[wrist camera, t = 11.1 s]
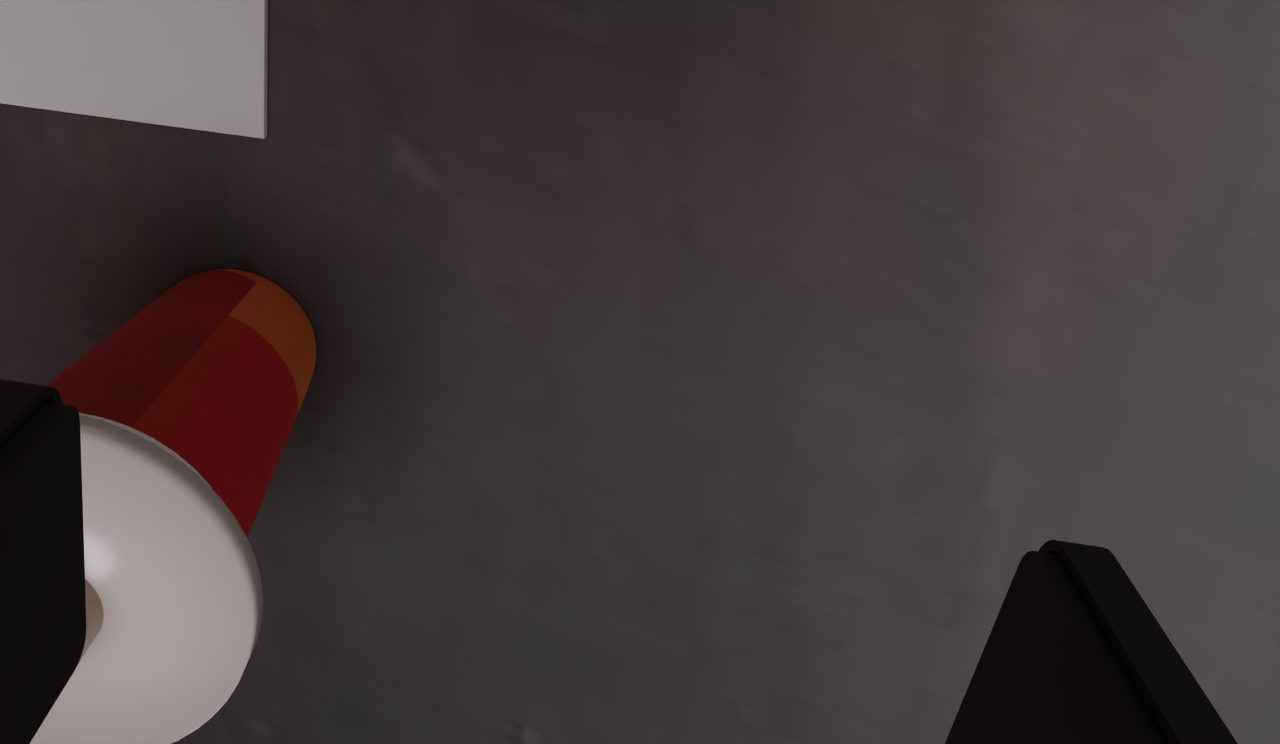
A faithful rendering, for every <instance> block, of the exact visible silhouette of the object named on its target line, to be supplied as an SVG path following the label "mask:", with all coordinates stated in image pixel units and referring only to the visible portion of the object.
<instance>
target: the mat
mask: <svg viewBox="0 0 1280 744" xmlns="http://www.w3.org/2000/svg"><path fill="white" fill-rule="evenodd" d="M267 78H268V0H0V103H3V104H10V105H17V106H25V107H32V108H40V109H47V110H54V111H62V112H69V113H77V114H84V115H92V116H99V117H106V118H114V119H121V120H129V121H136V122H143V123H151V124H158V125H166V126H173V127H181V128H188V129H195V130H203V131H210V132H218V133H225V134H233V135H240V136H247V137H255V138H262V139H264V138H265V137H267Z"/></svg>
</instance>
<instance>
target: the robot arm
mask: <svg viewBox="0 0 1280 744" xmlns="http://www.w3.org/2000/svg"><path fill="white" fill-rule="evenodd" d="M85 639H86V596H85V564H84V532H83V500H82V468H81V435H80V418H79V413H78V410H77V408H76V407H74V406H72V405H65V404H62V399H61V396H60V394H59V392H58V391H57V390H56V389H55V388H54V387H49V386H42V385H36V384H29V383H23V382H16V381H10V380H3V379H0V744H30V742H31V741H32V739H33V737H34V736H35V734H36V733H37V731H38V729H39V728H40V726H41V724H42V723H43V721H44V720H45V718H46V716H47V715H48V713H49V711H50V710H51V708H52V707H53V705H54V703H55V702H56V700H57V699H58V697H59V695H60V694H61V692H62V690H63V689H64V687H65V686H66V684H67V682H68V681H69V679H70V678H71V676H72V674H73V673H74V671H75V669H76V667H77V665H78V663H79V661H80V658H81V655H82V652H83V648H84V645H85ZM945 744H1237V742H1236V741H1235V739H1234V738H1233V736H1232V734H1231V733H1230V731H1229V730H1228V728H1227V727H1226V725H1225V724H1224V722H1223V721H1222V719H1221V718H1220V716H1219V715H1218V713H1217V712H1216V710H1215V709H1214V707H1213V706H1212V704H1211V703H1210V701H1209V699H1208V698H1207V696H1206V695H1205V693H1204V692H1203V690H1202V689H1201V687H1200V686H1199V684H1198V683H1197V681H1196V680H1195V678H1194V677H1193V675H1192V674H1191V672H1190V671H1189V669H1188V667H1187V666H1186V664H1185V663H1184V661H1183V660H1182V658H1181V657H1180V655H1179V654H1178V652H1177V651H1176V649H1175V648H1174V646H1173V645H1172V643H1171V642H1170V640H1169V639H1168V637H1167V636H1166V634H1165V632H1164V631H1163V629H1162V628H1161V626H1160V625H1159V623H1158V622H1157V620H1156V619H1155V617H1154V616H1153V614H1152V613H1151V611H1150V610H1149V608H1148V607H1147V605H1146V604H1145V602H1144V600H1143V599H1142V597H1141V596H1140V594H1139V593H1138V591H1137V590H1136V588H1135V587H1134V585H1133V584H1132V582H1131V581H1130V579H1129V578H1128V576H1127V575H1126V573H1125V572H1124V570H1123V569H1122V567H1121V565H1120V564H1119V562H1118V561H1117V559H1116V558H1115V556H1114V555H1113V554H1112V553H1111V552H1110V551H1109V550H1108V549H1106V548H1102V547H1096V546H1090V545H1083V544H1077V543H1070V542H1064V541H1057V540H1050V541H1047V542H1046V543H1045V544H1044V545H1043V546H1042V547H1041V548H1040V549H1039V551H1038V552H1036V551H1030V552H1027V553H1026V554H1025V555H1024V556H1023V558H1022V560H1021V561H1020V563H1019V566H1018V568H1017V571H1016V573H1015V575H1014V578H1013V580H1012V583H1011V585H1010V587H1009V590H1008V592H1007V595H1006V597H1005V600H1004V602H1003V604H1002V607H1001V609H1000V612H999V614H998V617H997V619H996V621H995V624H994V626H993V629H992V631H991V633H990V636H989V638H988V641H987V643H986V646H985V648H984V650H983V653H982V655H981V658H980V660H979V663H978V665H977V667H976V670H975V672H974V675H973V677H972V679H971V682H970V684H969V687H968V689H967V692H966V694H965V696H964V699H963V701H962V704H961V706H960V708H959V711H958V713H957V716H956V718H955V721H954V723H953V725H952V728H951V730H950V733H949V735H948V738H947V740H946V743H945Z"/></svg>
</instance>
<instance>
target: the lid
mask: <svg viewBox="0 0 1280 744" xmlns="http://www.w3.org/2000/svg"><path fill="white" fill-rule="evenodd" d="M79 418H80V435H81V468H82V500H83V532H84V564H85V596H86V639H85V645H84V648H83V652H82V655H81V658H80V661H79V663H78V665H77V667H76V669H75V671H74V673H73V674H72V676H71V678H70V679H69V681H68V682H67V684H66V686H65V687H64V689H63V690H62V692H61V694H60V695H59V697H58V699H57V700H56V702H55V703H54V705H53V707H52V708H51V710H50V711H49V713H48V715H47V716H46V718H45V720H44V721H43V723H42V724H41V726H40V728H39V729H38V731H37V733H36V734H35V736H34V737H33V739H32V741H31V742H30V744H171V743H173V742H176V741H178V740H180V739H181V738H183V737H185V736H187V735H188V734H190V733H192V732H193V731H195V730H197V729H198V728H199V727H200V726H202V725H203V724H204V723H205V722H207V721H208V720H209V719H210V718H212V717H213V716H214V715H215V714H216V713H217V711H218V710H219V709H220V708H221V707H222V706H223V705H224V704H225V703H226V702H227V700H228V699H229V697H230V696H231V694H232V693H233V691H234V690H235V688H236V686H237V685H238V683H239V681H240V678H241V676H242V674H243V672H244V669H245V667H246V665H247V663H248V660H249V658H250V656H251V653H252V651H253V649H254V647H255V644H256V642H257V638H258V634H259V630H260V626H261V622H262V609H263V595H262V584H261V578H260V574H259V570H258V566H257V562H256V558H255V556H254V554H253V551H252V549H251V546H250V544H249V541H248V539H247V537H246V535H245V533H244V532H243V530H242V528H241V527H240V525H239V523H238V521H237V520H236V518H235V516H234V515H233V514H232V512H231V511H230V510H229V509H228V507H227V506H226V505H225V503H224V502H223V501H222V499H221V498H220V497H219V496H218V495H217V494H216V493H215V492H214V491H213V489H212V488H211V487H210V486H209V485H208V484H207V483H206V482H205V481H204V480H203V479H202V478H201V477H200V476H198V475H197V474H196V473H195V472H194V471H192V470H191V469H190V468H189V467H187V466H186V465H185V464H184V463H183V462H181V461H180V460H179V459H177V458H176V457H174V456H173V455H171V454H170V453H168V452H167V451H165V450H163V449H162V448H160V447H159V446H157V445H156V444H154V443H152V442H150V441H148V440H146V439H144V438H142V437H140V436H138V435H136V434H134V433H132V432H131V431H128V430H126V429H123V428H120V427H118V426H115V425H113V424H110V423H107V422H105V421H102V420H98V419H95V418H91V417H87V416H84V415H80V414H79Z"/></svg>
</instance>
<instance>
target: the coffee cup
mask: <svg viewBox="0 0 1280 744" xmlns="http://www.w3.org/2000/svg"><path fill="white" fill-rule="evenodd" d="M315 363H316V340H315V335H314V331H313V328H312V325H311V323H310V321H309V319H308V317H307V315H306V313H305V312H304V310H303V309H302V307H301V306H300V305H299V303H298V302H297V301H296V300H295V299H294V298H293V297H292V296H291V295H290V294H289V293H288V292H287V291H286V290H284V289H283V288H282V287H280V286H279V285H277V284H276V283H274V282H273V281H271V280H269V279H267V278H265V277H263V276H260V275H258V274H255V273H252V272H248V271H244V270H239V269H226V268H224V269H212V270H207V271H203V272H200V273H197V274H194V275H192V276H190V277H188V278H186V279H184V280H182V281H181V282H179V283H178V284H176V285H174V286H173V287H172V288H170V289H169V290H167V291H166V292H165V293H163V294H162V295H161V296H159V297H158V298H157V299H155V300H154V301H153V302H151V303H150V304H149V305H147V306H146V307H145V308H144V309H142V310H141V311H140V312H139V313H137V314H136V315H135V316H133V317H132V318H131V319H130V320H128V321H127V322H126V323H125V324H123V325H122V326H121V327H120V328H118V329H117V330H116V331H115V332H113V333H112V334H111V335H109V336H108V337H107V338H106V339H104V340H103V341H102V342H101V343H99V344H98V345H97V346H96V347H94V348H93V349H92V350H91V351H89V352H88V353H87V354H85V355H84V356H83V357H81V358H80V359H79V360H77V361H76V362H74V363H73V364H72V365H71V366H70V367H69V368H67V369H66V370H65V371H64V372H63V373H61V374H60V375H59V376H58V377H57V378H55V379H54V380H53V381H52V382H51V383H49V384H48V385H47V386H49V387H54V388H55V389H56V390H57V391H58V392H59V394H60V396H61V399H62V404H65V405H72V406H74V407H76V408H77V410H78V413H79V414H80V415H84V416H87V417H91V418H95V419H98V420H102V421H105V422H107V423H110V424H113V425H115V426H118V427H120V428H123V429H126V430H128V431H131V432H132V433H134V434H136V435H138V436H140V437H142V438H144V439H146V440H148V441H150V442H152V443H154V444H156V445H157V446H159V447H160V448H162V449H163V450H165V451H167V452H168V453H170V454H171V455H173V456H174V457H176V458H177V459H179V460H180V461H181V462H183V463H184V464H185V465H186V466H187V467H189V468H190V469H191V470H192V471H194V472H195V473H196V474H197V475H198V476H200V477H201V478H202V479H203V480H204V481H205V482H206V483H207V484H208V485H209V486H210V487H211V488H212V489H213V491H214V492H215V493H216V494H217V495H218V496H219V497H220V498H221V499H222V501H223V502H224V503H225V505H226V506H227V507H228V509H229V510H230V511H231V512H232V514H233V515H234V516H235V518H236V520H237V521H238V523H239V525H240V527H241V528H242V530H243V532H244V533H245V535H246V537H248V535H249V532H250V530H251V528H252V525H253V523H254V520H255V518H256V516H257V513H258V511H259V508H260V506H261V504H262V501H263V499H264V496H265V494H266V492H267V489H268V487H269V484H270V482H271V480H272V477H273V475H274V472H275V470H276V467H277V465H278V463H279V460H280V458H281V455H282V453H283V450H284V448H285V445H286V443H287V441H288V438H289V436H290V433H291V431H292V428H293V426H294V423H295V421H296V418H297V416H298V413H299V411H300V408H301V406H302V403H303V400H304V398H305V395H306V392H307V390H308V387H309V384H310V381H311V378H312V375H313V371H314V368H315Z"/></svg>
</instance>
